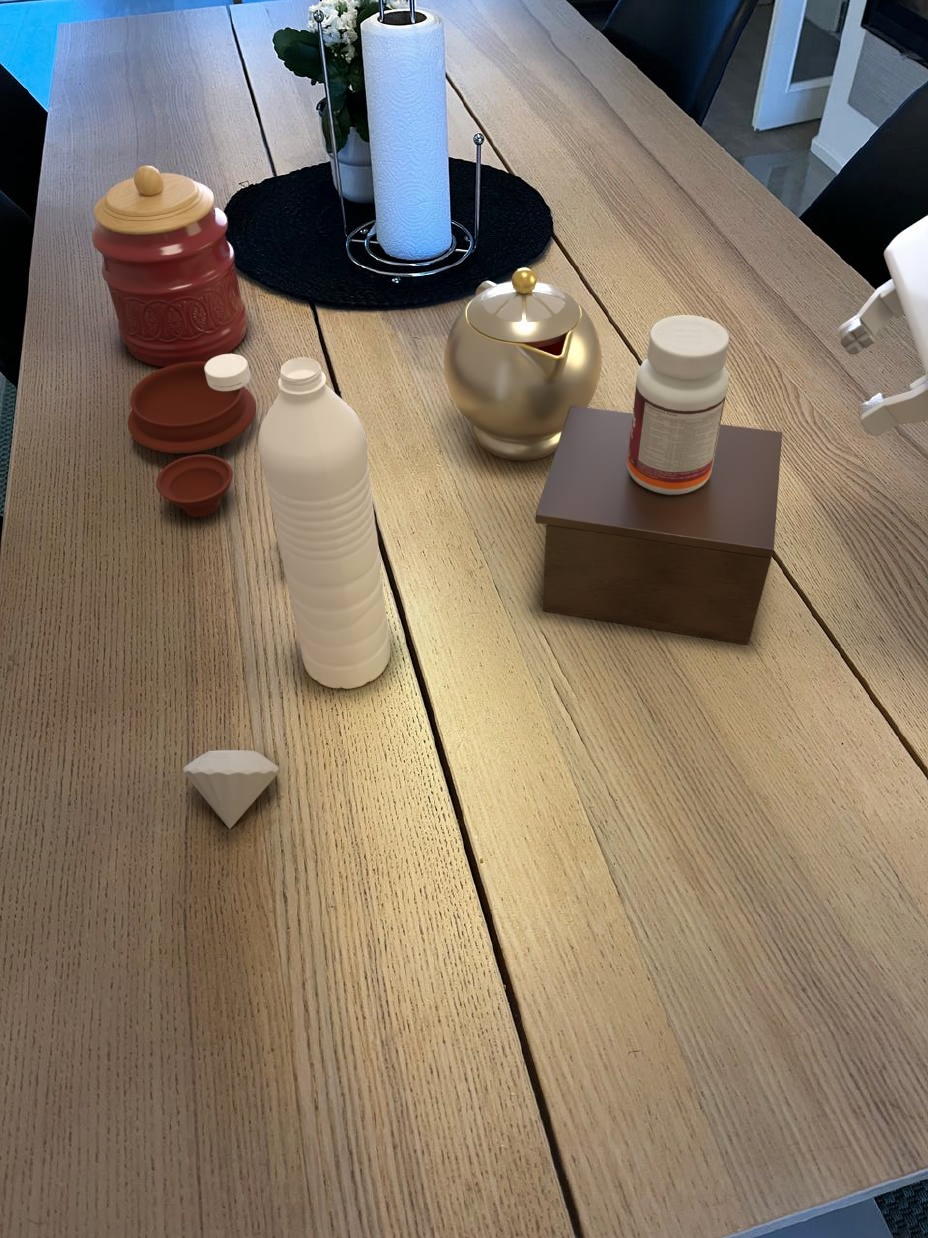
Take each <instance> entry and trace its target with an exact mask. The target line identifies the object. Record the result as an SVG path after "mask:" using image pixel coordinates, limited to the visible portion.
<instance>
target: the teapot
mask: <svg viewBox="0 0 928 1238" xmlns="http://www.w3.org/2000/svg"><path fill="white" fill-rule="evenodd" d="M537 279H538V277H537V275H536V273H535V272H534V271H533V270H532V269H530V268H528V267H521V268H517V270H516V271H514V273H513V274H512V276H511V280H509V281H504V282H501V283H495V282H493V281H490V280H485V281H483V282H481V283H480V285H478V287H477V288H476V290H475V292H474V297H473V298H472V299H471V300H470V301H469V302H467V304H466V305H465V306H464V307H463V308H462V310H461V311H460V312H459V314H458V315H457V317H456V319H455V320H454V322H453V323H452V326H451V327H450V330H449V333H448V335H447V339H446V342H445V347H444V348H445V349H444V354H443V370H444V377H445V382H446V386H447V389H448V391H449V395H450V397H451V398H452V401H453V402H454V404H455V406H456V407H457V410H459V412H460V413H461V414H462V415H463V417H464V418H465V419H466V420H467V421H468V422H469V423H470V424H472V432H473V436H474V438H475V440H476V442H477V443H478V444H479V446H480V447H481V448H482V449H483V450H485V451H486V452H488V453H489V454H491V455H493V456H495V457H498V458H500V459H504V460H509V461H515V462H516V461H517V462H518V461H519V462H524V461H525V462H526V461H535V460H539V459H543V458H545V457H548V456H549V455H552V454H555V451H556V448H557V445H558V442H559V439H560V436H561V432H562V429H563V426H564V423H565V420H566V417H567V414H568V410H569V407H570V406H579V407H587V408H588V407H589V405H590V403H591V401H592V400H593V398H594V397H595V393H596V391H597V390H598V386H599V382H600V378H601V373H602V366H603V365H602V364H603V361H602V360H603V359H602V356H603V355H602V346H601V341H600V338H599V333H598V331H597V329H596V327H595V324H594V323H593V320H592V318H591V317H590V315H589V314H588V312H587V311H586V310H585V308H584V307H583V306H582V305H581V304H580V303H579V301H578V300H576V299H575V298H574V297H573V296H572V295H570V294H569V293H567V292H566V291H564V290H563V289H561V288H560V287H558V286H556V285H555V286H554V285H553V284H551V283H550V284H549V283H547V282H544V281H539V280H537Z"/></svg>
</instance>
